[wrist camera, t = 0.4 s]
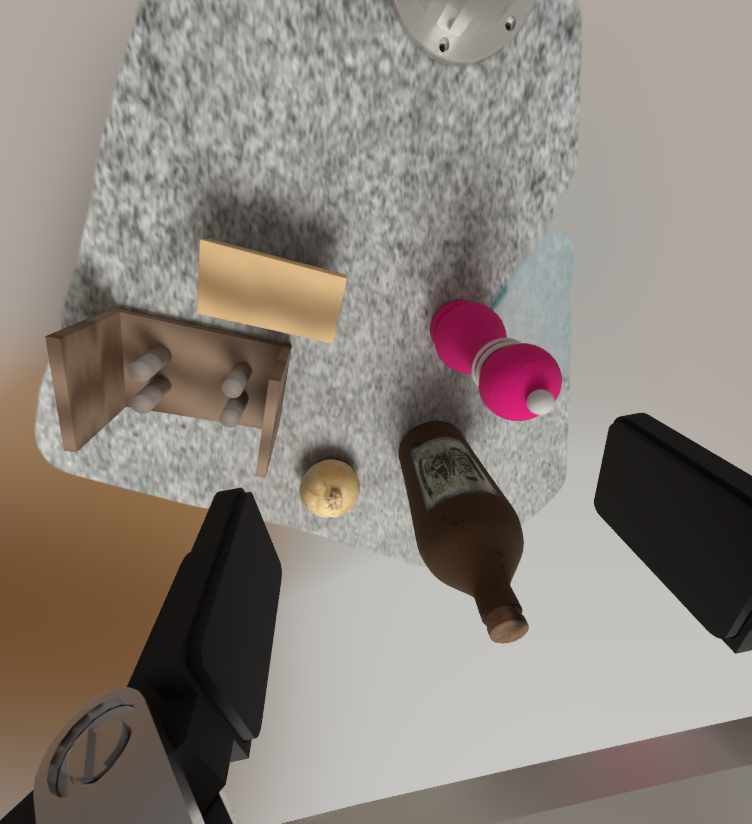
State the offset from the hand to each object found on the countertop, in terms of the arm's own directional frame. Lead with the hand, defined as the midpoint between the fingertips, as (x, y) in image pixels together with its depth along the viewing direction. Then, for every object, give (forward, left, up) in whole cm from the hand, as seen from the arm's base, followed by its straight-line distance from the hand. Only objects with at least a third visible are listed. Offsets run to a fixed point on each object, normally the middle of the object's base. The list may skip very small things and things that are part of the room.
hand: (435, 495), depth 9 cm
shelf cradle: (+14, -15, -33) cm, 38 cm away
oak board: (+2, -8, -28) cm, 29 cm away
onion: (+26, +2, -33) cm, 42 cm away
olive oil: (+19, +15, -33) cm, 41 cm away
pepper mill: (+2, +12, -33) cm, 35 cm away
